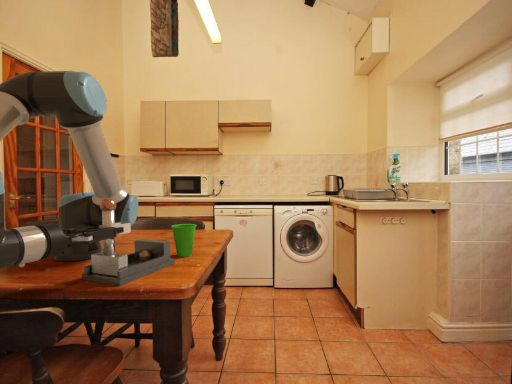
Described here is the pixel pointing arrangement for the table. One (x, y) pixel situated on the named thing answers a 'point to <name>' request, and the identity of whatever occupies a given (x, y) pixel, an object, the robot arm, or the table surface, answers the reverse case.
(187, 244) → the cup
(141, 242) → the base
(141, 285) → the table surface
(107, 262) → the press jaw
